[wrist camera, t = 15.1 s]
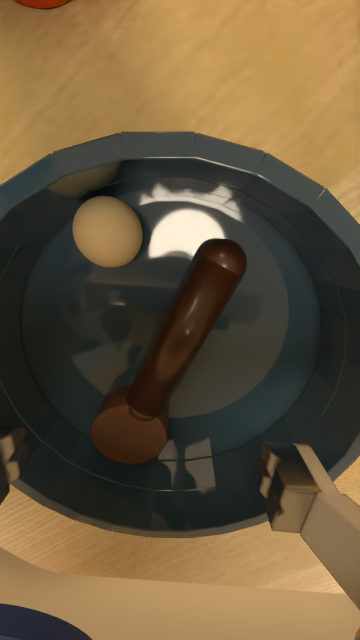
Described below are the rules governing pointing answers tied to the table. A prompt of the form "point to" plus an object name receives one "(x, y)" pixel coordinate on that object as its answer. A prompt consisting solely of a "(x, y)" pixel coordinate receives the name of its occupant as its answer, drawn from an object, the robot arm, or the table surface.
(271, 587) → the table surface
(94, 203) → the ball
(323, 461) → the bowl
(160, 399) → the disc-headed brown rod
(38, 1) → the coffee cup
